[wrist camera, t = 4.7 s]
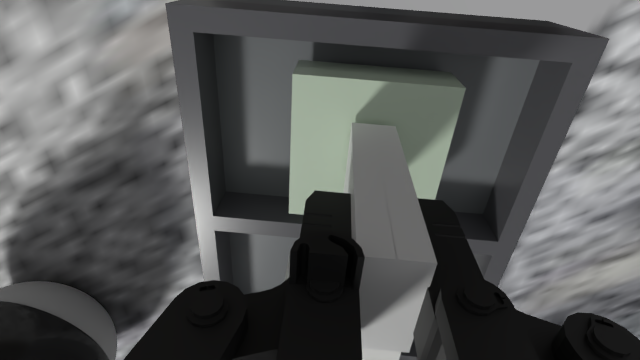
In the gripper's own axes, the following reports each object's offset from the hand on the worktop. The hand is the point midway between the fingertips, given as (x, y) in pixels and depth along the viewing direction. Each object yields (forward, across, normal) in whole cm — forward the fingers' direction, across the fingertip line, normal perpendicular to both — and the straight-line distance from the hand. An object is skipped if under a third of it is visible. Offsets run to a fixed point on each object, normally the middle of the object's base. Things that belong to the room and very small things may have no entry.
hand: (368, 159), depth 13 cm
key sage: (+2, 0, 0) cm, 2 cm away
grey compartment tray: (+5, 0, +9) cm, 10 cm away
